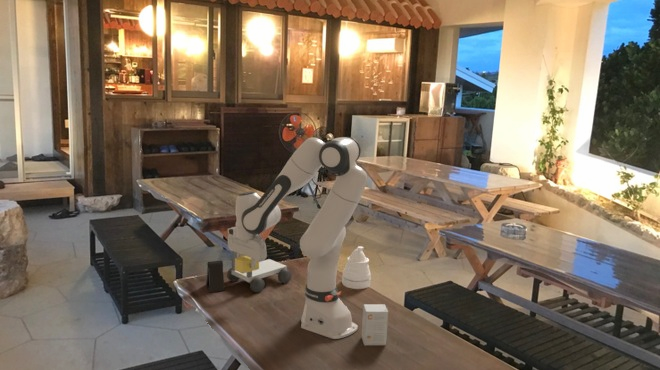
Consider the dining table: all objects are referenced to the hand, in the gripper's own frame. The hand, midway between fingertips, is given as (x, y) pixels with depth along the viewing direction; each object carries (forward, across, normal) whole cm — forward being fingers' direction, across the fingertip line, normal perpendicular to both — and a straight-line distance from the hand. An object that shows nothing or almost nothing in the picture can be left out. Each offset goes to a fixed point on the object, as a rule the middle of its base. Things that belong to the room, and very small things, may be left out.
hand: (247, 265), depth 215 cm
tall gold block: (+2, 0, 0) cm, 2 cm away
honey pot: (+18, -14, -52) cm, 57 cm away
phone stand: (+16, +23, -1) cm, 28 cm away
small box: (+18, -53, -15) cm, 58 cm away
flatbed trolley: (+17, +16, -20) cm, 30 cm away
